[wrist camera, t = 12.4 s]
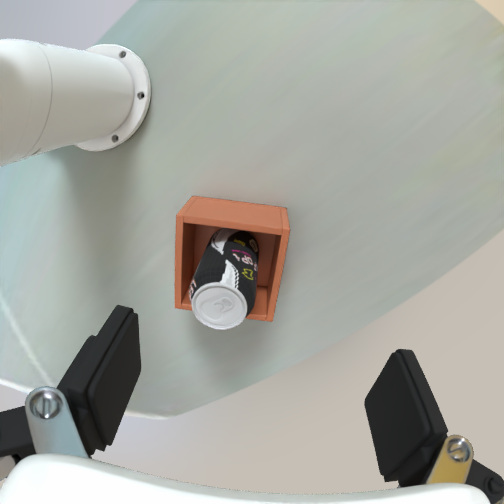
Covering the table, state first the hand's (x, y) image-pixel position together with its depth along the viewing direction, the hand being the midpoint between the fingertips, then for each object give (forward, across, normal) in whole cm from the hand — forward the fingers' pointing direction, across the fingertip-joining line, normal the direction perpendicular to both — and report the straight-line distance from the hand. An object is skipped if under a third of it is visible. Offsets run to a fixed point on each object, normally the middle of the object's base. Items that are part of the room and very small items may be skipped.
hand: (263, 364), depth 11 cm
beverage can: (+25, +2, +7) cm, 26 cm away
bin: (+25, +2, +7) cm, 27 cm away
